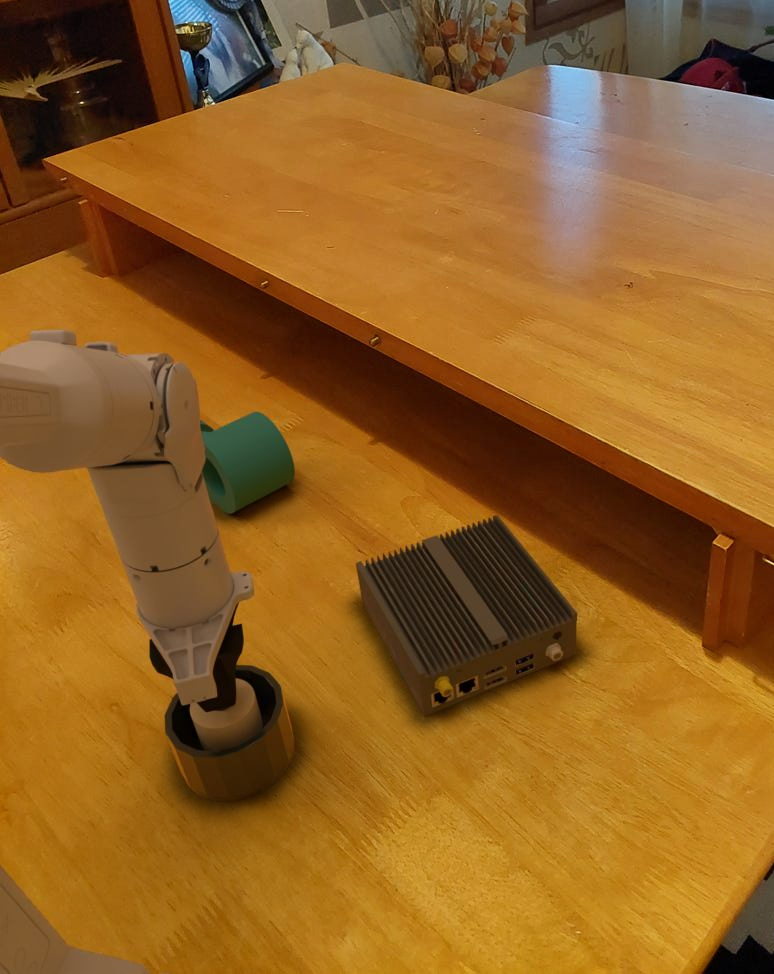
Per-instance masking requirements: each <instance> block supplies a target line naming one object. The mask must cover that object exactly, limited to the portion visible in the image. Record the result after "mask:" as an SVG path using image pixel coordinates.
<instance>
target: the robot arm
mask: <svg viewBox="0 0 774 974" xmlns="http://www.w3.org/2000/svg"><path fill="white" fill-rule="evenodd" d="M197 385H198V384H197V381H196V378H195V377H194V376H193V373H192V372H191V369H190V368H189V366H187V364H185V363H184V362H183V361H176V362H175V359H174V358H173V357H172V356H171V355H170V354H168V353H166V352H157V353H154V352H153V353H134V354H133V353H131V354H123V353H119V347H118V345H117V344H116V343H114V342H110V341H90V342H86V343H85V344H84V345H83V346H78V343H77V334H76V332H74V331H73V330H68V329H59V328H58V329H39V330H38V329H37V330H32V331H30V334H29V340H28V341H23V342H19V343H17V344H13V345H12V346H10V347H7V348H6V349H4V350H3V351H1V352H0V458H1V459H2V461H5V462H6V463H8V464H9V465H11V466H13V467H15V468H17V469H21V470H23V471H26V472H32V473H38V474H49V473H58V472H64V471H71V470H80V469H87V472H88V474H89V478H90V480H91V483H92V486H93V488H94V490H95V493H96V496H97V499H98V501H99V504H100V506H101V509H102V512H103V515H104V517H105V521H106V523H107V526H108V528H109V531H110V534H111V536H112V539H113V542H114V544H115V547H116V550H117V552H118V555H119V558H120V561H121V563H122V566H123V568H124V571H125V574H126V577H127V580H128V583H129V585H130V587H131V590H132V593H133V596H134V599H135V601H136V604H135V609H136V614H137V617H138V619H139V622H140V624H141V626H142V627H143V629H144V630H145V631H146V634H147V635H148V636H149V638H150V639H149V643H148V644H149V645H148V646H149V660H150V664H151V665H152V667H153V669H154V670H155V671H156V673H157V674H159V675H163V676H165V677H168V678H169V679H172V680H173V686H174V687H175V690H176V693H178V696H179V699H180V702H181V704H182V705H187V704H191V703H197V704H198V705H199V706H200V707H201V708H202V709H203V710H204V711H205V712H211V711H215V710H219V709H223V708H227V707H231V706H234V705H235V704H236V694H237V692H236V677H235V671H236V665H238V662H239V659H240V657H241V655H242V654H243V650H244V644H245V637H244V636H245V635H244V629H243V623H237V624H234V621H235V616H236V613H237V610H238V607H239V604H240V602H243V601H247V600H250V599H252V598H253V597H254V595H255V586H254V580H253V577H252V573H251V572H249V571H247V570H245V571H244V570H243V571H238V572H233V571H231V570H230V566H229V563H228V560H227V555H226V552H225V548H224V545H223V542H222V539H221V538H222V537H221V535H220V531H219V527H218V524H217V520H216V517H215V513H214V510H213V505H212V501H211V500H210V499H209V495H208V491H207V488H206V484H205V481H204V477H203V474H202V468H203V466H204V463H205V459H206V457H205V446H204V442H203V439H202V435H201V428H200V420H201V408H200V398H199V397H200V396H199V391H198V386H197ZM0 974H152V973H151V972H150V971H149V968H148V967H147V966H145V965H144V964H142V963H139V962H135V961H132V960H128V959H123V958H119V957H115V956H110V955H108V954H107V955H106V954H101V953H98V952H93V951H89V950H85V949H81V948H78V947H73V946H70V945H69V944H68V943H67V941H66V940H65V939H64V938H63V937H62V935H60V933H59V932H58V931H57V929H55V927H54V926H53V925H52V924H51V923H50V922H49V920H48V919H47V918H46V917H45V916H44V914H43V913H42V912H41V910H39V909H38V908H37V906H36V904H34V903H33V902H32V900H31V899H30V897H28V896H27V894H26V893H25V892H24V891H23V890H22V888H21V887H20V886H19V885H18V884H17V883H16V881H15V880H14V879H13V878H12V876H11V875H10V874H9V873H8V871H6V870H5V868H4V867H3V866H2V865H1V864H0ZM160 974H171V973H170V972H162V973H161V972H160Z"/></svg>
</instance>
